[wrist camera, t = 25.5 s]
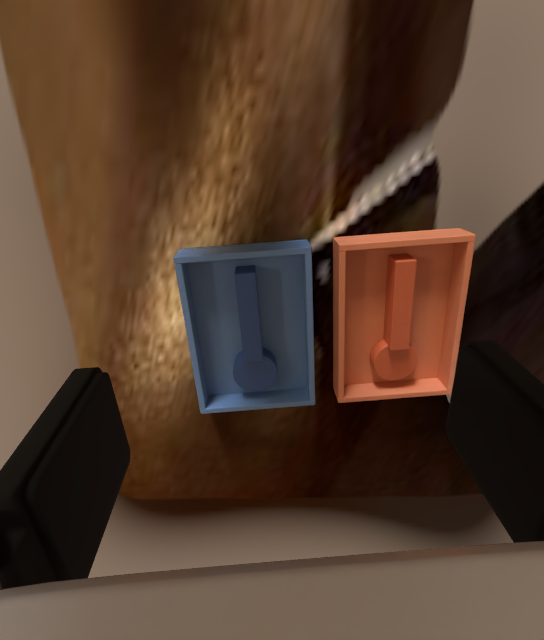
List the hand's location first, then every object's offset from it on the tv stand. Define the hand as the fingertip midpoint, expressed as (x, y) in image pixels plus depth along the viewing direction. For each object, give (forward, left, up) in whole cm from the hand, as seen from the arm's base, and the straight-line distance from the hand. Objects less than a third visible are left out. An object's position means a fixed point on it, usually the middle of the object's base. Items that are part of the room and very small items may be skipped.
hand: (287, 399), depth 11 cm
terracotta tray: (+8, +10, -22) cm, 25 cm away
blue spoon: (+8, -2, -21) cm, 23 cm away
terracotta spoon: (+8, +10, -21) cm, 25 cm away
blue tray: (+8, -2, -22) cm, 23 cm away
